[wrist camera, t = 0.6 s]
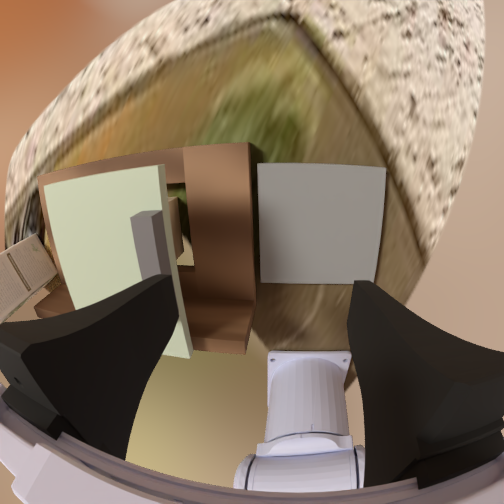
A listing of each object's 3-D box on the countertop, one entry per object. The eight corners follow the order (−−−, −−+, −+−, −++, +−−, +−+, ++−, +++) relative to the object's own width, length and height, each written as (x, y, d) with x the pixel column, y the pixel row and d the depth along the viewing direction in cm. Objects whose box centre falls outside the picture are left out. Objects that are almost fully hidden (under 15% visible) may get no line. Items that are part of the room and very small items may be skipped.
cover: (193, 350, 17) (184, 371, 16) (92, 332, 19) (79, 347, 17) (164, 164, 13) (145, 168, 11) (51, 183, 14) (30, 190, 12)
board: (256, 304, 23) (245, 354, 17) (71, 288, 26) (38, 317, 20) (250, 142, 18) (232, 142, 12) (45, 174, 21) (1, 187, 15)
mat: (371, 280, 21) (373, 283, 20) (261, 278, 22) (260, 282, 21) (383, 167, 17) (386, 168, 17) (258, 163, 18) (257, 163, 18)
